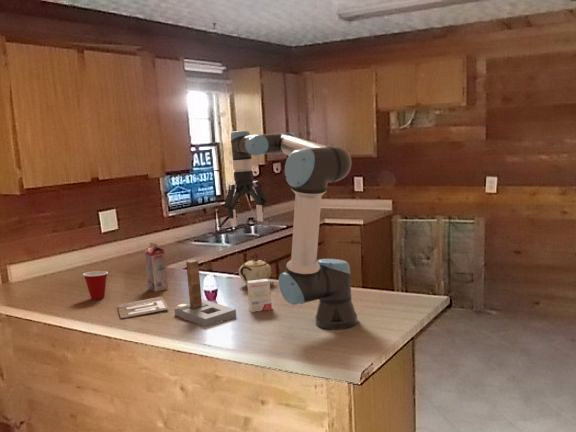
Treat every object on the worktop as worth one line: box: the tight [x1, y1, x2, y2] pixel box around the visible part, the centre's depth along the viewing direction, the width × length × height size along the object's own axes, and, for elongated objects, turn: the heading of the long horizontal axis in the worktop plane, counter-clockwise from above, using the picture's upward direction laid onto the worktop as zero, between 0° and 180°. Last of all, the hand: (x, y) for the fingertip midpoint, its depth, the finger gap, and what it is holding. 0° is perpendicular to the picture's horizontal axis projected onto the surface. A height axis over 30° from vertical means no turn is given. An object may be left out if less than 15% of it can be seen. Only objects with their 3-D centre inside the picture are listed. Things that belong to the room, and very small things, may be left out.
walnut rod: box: [185, 259, 203, 307], centre depth 226 cm, size 3×3×18 cm
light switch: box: [117, 296, 169, 319], centre depth 238 cm, size 18×2×19 cm
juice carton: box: [144, 242, 169, 293], centre depth 267 cm, size 7×7×22 cm
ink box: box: [246, 278, 273, 313], centre depth 227 cm, size 9×5×12 cm, turn 103°
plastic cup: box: [82, 270, 109, 301], centre depth 259 cm, size 11×11×12 cm
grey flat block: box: [174, 299, 237, 328], centre depth 223 cm, size 22×14×4 cm, turn 42°
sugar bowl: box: [238, 252, 272, 286], centre depth 263 cm, size 20×15×15 cm
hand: (247, 223), depth 227 cm, fingers open, 13 cm apart
